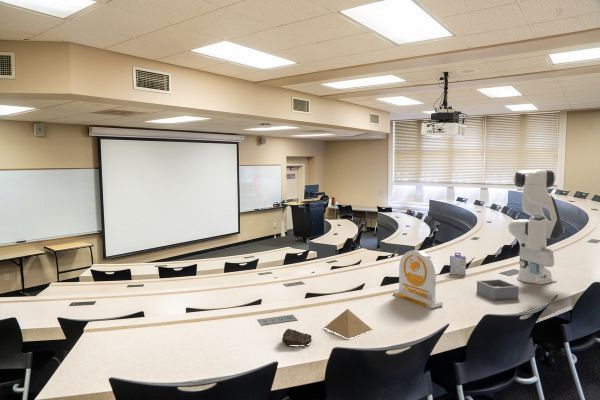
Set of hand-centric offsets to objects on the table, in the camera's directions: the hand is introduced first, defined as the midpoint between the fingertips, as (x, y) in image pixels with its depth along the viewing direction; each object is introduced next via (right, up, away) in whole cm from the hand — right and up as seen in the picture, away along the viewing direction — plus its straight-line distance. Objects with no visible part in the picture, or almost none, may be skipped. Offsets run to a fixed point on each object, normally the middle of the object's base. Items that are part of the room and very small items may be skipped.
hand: (535, 271), depth 214 cm
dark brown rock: (-129, -21, -51) cm, 140 cm away
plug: (0, -3, 0) cm, 3 cm away
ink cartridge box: (-19, -13, +58) cm, 62 cm away
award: (-64, -17, +3) cm, 66 cm away
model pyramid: (-107, -20, -36) cm, 114 cm away
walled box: (-16, -16, +10) cm, 25 cm away
